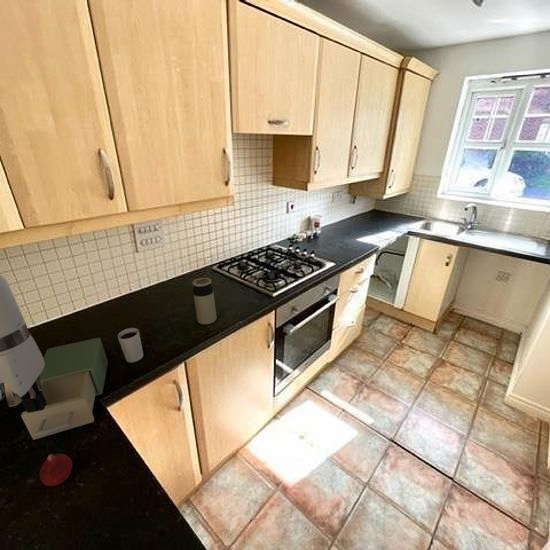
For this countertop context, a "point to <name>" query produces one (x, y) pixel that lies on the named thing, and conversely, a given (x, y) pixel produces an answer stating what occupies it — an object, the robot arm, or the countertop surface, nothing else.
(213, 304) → the travel mug
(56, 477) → the onion
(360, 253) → the countertop surface
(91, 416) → the drawer
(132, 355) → the grey cup
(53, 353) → the cabinet
